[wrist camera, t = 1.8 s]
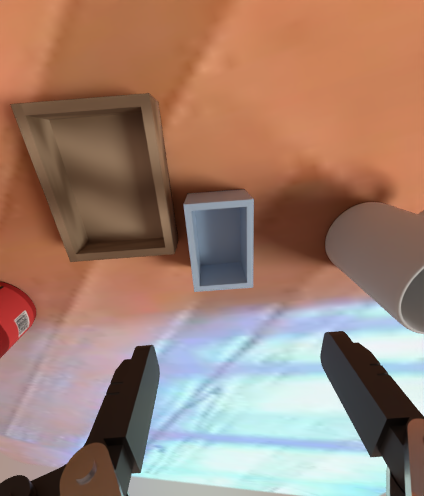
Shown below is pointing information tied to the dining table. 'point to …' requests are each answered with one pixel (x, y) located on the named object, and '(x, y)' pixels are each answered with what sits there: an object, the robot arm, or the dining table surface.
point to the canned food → (14, 315)
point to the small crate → (220, 239)
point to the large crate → (103, 174)
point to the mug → (383, 257)
